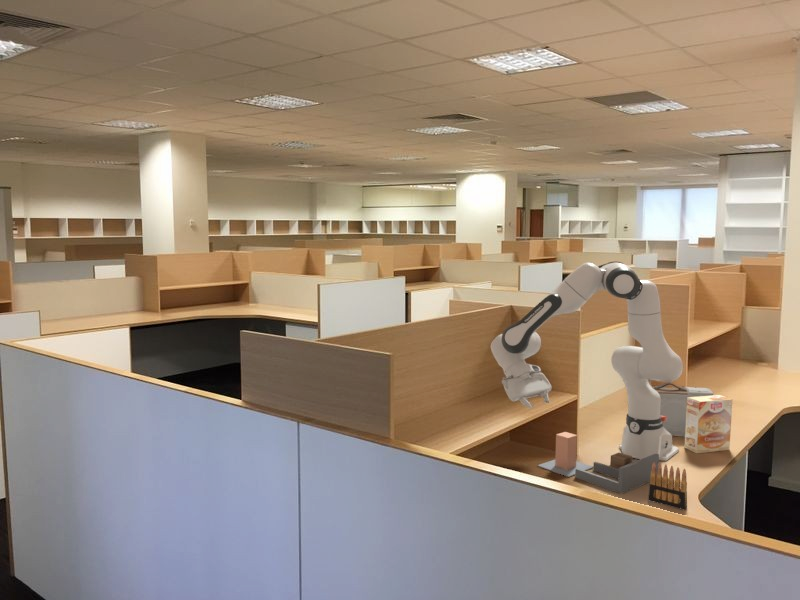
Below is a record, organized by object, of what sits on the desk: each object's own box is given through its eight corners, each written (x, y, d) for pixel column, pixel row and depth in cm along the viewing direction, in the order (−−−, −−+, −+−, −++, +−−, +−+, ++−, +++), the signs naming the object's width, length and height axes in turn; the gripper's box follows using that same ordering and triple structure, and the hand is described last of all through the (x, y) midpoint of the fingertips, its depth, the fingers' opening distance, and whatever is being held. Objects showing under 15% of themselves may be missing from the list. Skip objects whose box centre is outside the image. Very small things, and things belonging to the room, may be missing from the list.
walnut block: (618, 469, 225) (619, 452, 224) (631, 473, 221) (632, 456, 220) (610, 472, 222) (610, 455, 221) (623, 477, 218) (624, 459, 217)
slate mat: (562, 457, 236) (562, 456, 236) (593, 467, 226) (593, 466, 226) (537, 466, 227) (537, 465, 227) (568, 477, 217) (568, 476, 217)
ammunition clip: (648, 500, 199) (649, 461, 198) (650, 498, 201) (652, 460, 199) (684, 509, 192) (686, 470, 191) (687, 507, 194) (688, 468, 192)
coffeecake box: (697, 453, 240) (699, 401, 238) (683, 447, 247) (685, 396, 245) (730, 450, 245) (733, 398, 243) (716, 444, 251) (719, 394, 249)
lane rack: (612, 463, 230) (612, 441, 229) (657, 478, 217) (658, 454, 216) (575, 477, 217) (575, 454, 216) (621, 493, 204) (622, 468, 203)
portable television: (711, 438, 258) (715, 363, 255) (647, 434, 263) (650, 360, 260) (704, 429, 270) (707, 357, 267) (643, 425, 275) (645, 355, 272)
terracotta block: (564, 462, 230) (565, 431, 229) (576, 466, 226) (577, 435, 225) (555, 465, 227) (556, 434, 226) (567, 469, 223) (568, 438, 222)
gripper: (504, 373, 232) (525, 406, 225) (542, 365, 245) (562, 396, 238) (495, 383, 236) (515, 416, 229) (532, 375, 248) (552, 406, 242)
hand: (539, 406), depth 234 cm, fingers open, 8 cm apart
